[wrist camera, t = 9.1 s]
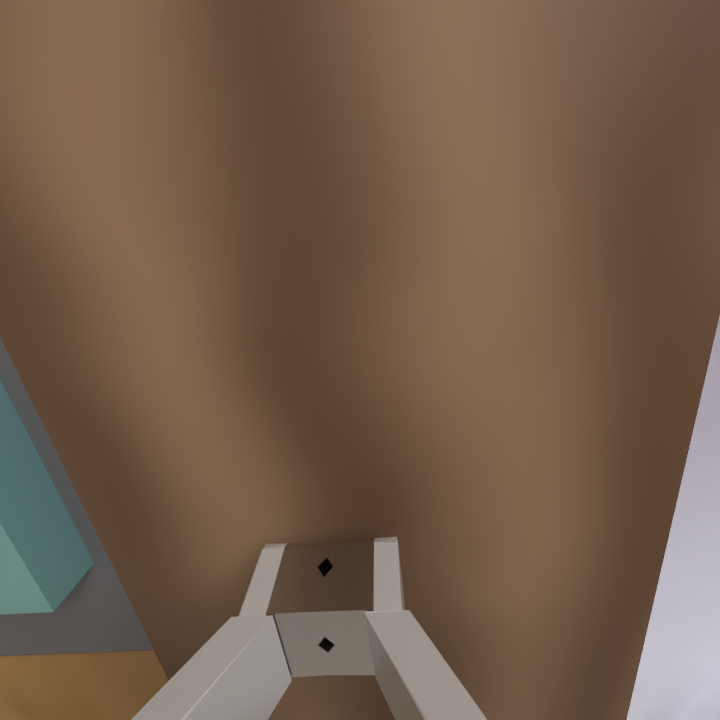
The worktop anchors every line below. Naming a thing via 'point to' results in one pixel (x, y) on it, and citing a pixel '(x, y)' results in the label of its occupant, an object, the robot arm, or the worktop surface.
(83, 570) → the teal block
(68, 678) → the worktop surface
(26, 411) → the grey mat
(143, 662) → the worktop surface
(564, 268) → the board
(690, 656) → the worktop surface
